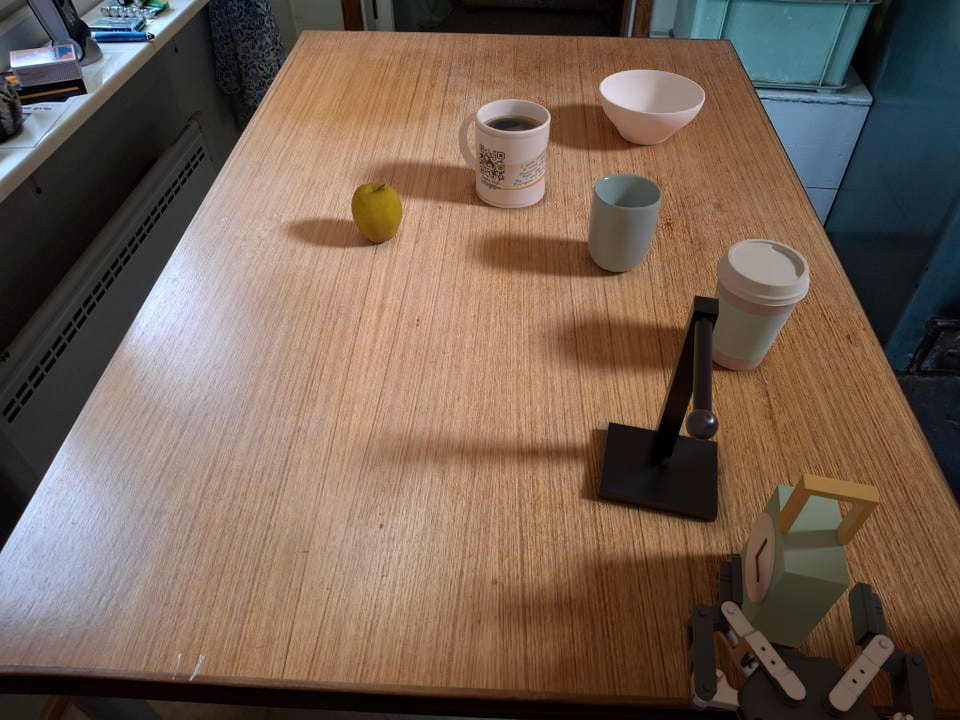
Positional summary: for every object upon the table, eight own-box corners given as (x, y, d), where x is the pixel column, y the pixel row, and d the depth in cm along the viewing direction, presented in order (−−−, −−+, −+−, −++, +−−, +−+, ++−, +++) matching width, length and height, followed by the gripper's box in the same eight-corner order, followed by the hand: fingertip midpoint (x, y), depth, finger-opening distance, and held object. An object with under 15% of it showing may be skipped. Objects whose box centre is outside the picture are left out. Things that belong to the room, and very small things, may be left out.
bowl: (575, 140, 106) (580, 96, 101) (619, 103, 115) (625, 61, 110) (671, 169, 100) (681, 123, 95) (709, 127, 109) (720, 84, 104)
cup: (578, 244, 86) (587, 174, 79) (637, 241, 86) (652, 171, 79) (590, 282, 80) (601, 210, 73) (654, 279, 81) (671, 207, 74)
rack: (714, 449, 63) (776, 296, 50) (714, 587, 53) (791, 442, 40) (607, 429, 65) (640, 276, 52) (588, 559, 55) (623, 411, 42)
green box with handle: (793, 564, 55) (869, 450, 44) (800, 649, 50) (888, 544, 39) (734, 552, 55) (795, 437, 45) (736, 634, 51) (805, 527, 40)
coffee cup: (772, 389, 68) (814, 298, 60) (687, 368, 70) (716, 277, 62) (778, 336, 74) (816, 245, 65) (699, 317, 76) (726, 227, 68)
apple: (412, 244, 86) (407, 189, 80) (363, 256, 84) (355, 200, 79) (396, 219, 90) (391, 164, 84) (350, 229, 88) (341, 174, 83)
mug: (484, 215, 91) (484, 138, 83) (457, 172, 99) (455, 98, 91) (555, 201, 93) (562, 125, 85) (524, 160, 101) (527, 87, 93)
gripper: (1001, 871, 33) (928, 570, 44) (700, 790, 35) (703, 524, 46) (928, 893, 38) (879, 620, 49) (671, 822, 40) (680, 576, 52)
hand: (794, 574), depth 48 cm, fingers open, 8 cm apart
